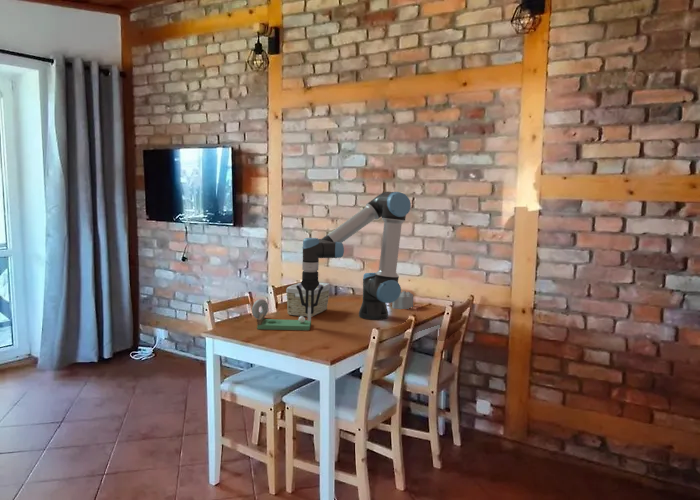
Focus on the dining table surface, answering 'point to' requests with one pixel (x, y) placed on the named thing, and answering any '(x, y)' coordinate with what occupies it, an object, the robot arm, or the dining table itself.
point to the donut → (256, 308)
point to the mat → (284, 325)
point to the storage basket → (295, 302)
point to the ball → (301, 319)
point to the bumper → (260, 319)
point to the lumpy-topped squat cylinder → (403, 301)
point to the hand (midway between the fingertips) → (309, 320)
